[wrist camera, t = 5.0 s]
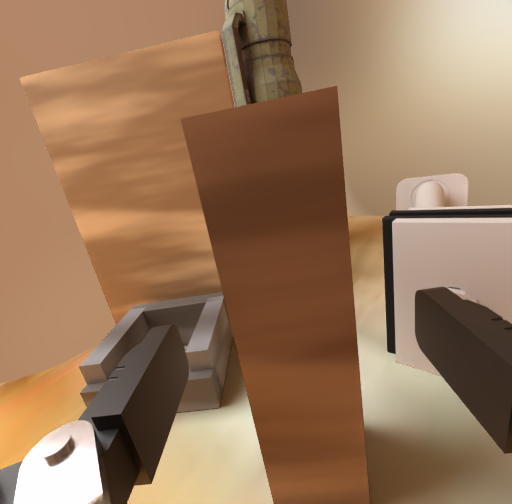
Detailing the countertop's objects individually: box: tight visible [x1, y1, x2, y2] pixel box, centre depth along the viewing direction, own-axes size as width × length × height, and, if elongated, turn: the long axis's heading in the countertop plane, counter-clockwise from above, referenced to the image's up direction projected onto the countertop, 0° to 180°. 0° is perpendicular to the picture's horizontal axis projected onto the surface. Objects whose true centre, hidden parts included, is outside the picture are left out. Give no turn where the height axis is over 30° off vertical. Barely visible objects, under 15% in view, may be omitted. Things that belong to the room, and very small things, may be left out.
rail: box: [181, 86, 370, 504], centre depth 12 cm, size 6×4×16 cm, turn 178°
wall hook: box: [396, 173, 468, 210], centre depth 36 cm, size 8×10×10 cm
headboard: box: [20, 31, 234, 413], centre depth 21 cm, size 12×16×24 cm
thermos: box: [222, 0, 302, 107], centre depth 38 cm, size 9×12×35 cm
